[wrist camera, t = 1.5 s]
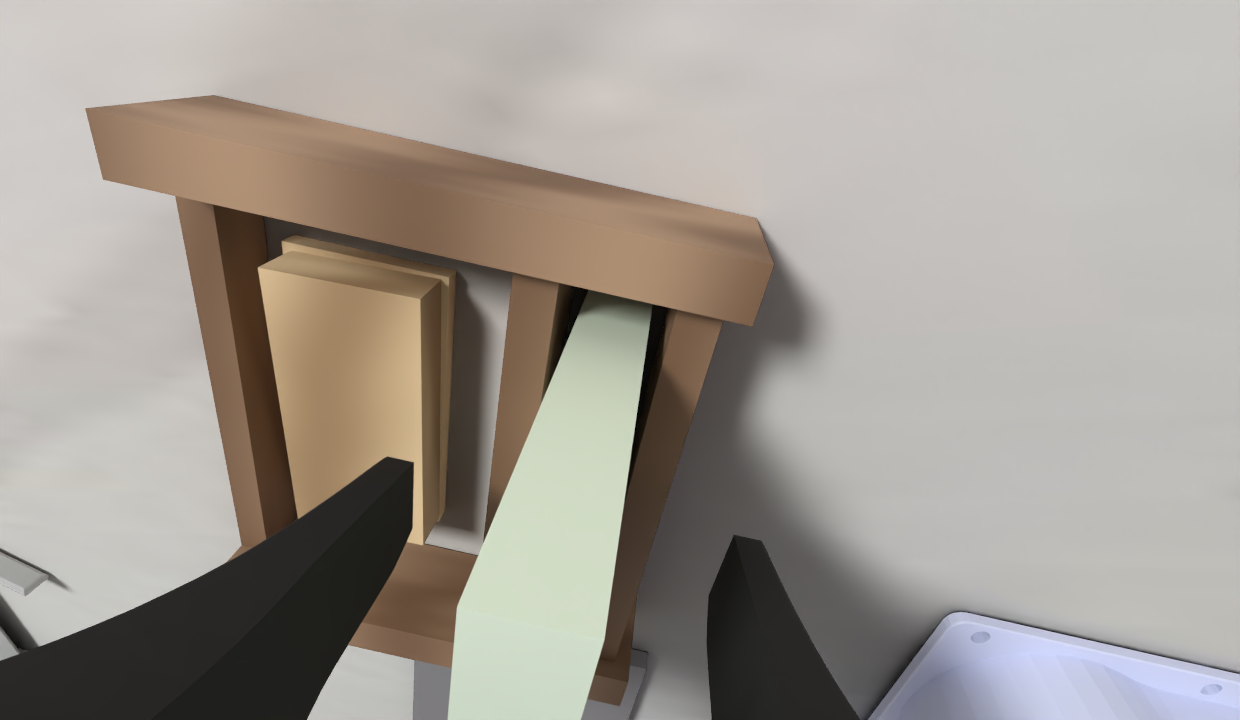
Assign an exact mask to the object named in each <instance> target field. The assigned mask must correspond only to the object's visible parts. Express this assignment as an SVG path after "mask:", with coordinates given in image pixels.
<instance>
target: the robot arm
mask: <svg viewBox="0 0 1240 720" xmlns="http://www.w3.org/2000/svg"><path fill="white" fill-rule="evenodd" d="M413 488H414V462H410V461H406V460H401V459H397V458H392V457H388V456H387V457H385V458H383V459H382V460H380V461H379V462H378V463H376V464H375V465H373V466H372V467H371V468H369V469H368V470H367V471H365V472H364V473H363V474H361V475H360V476H359V477H357V478H356V479H354V480H353V481H352V482H350V483H349V484H348V485H346V486H345V487H343V488H342V489H341V490H339V491H338V492H336V493H335V494H334V495H332V496H331V497H329V498H328V499H326V500H325V501H324V502H322V503H321V504H319V505H318V506H316V507H315V508H313V509H312V510H310V511H309V512H308V513H306V514H305V515H303V516H302V517H300V518H299V519H297V520H296V521H294V522H293V523H291V524H290V525H288V526H286V527H285V528H283V529H282V530H280V531H278V532H277V533H275V534H274V535H272V536H270V537H269V538H267V539H266V540H264V541H262V542H261V543H259V544H258V545H256V546H254V547H253V548H251V549H249V550H247V551H246V552H244V553H242V554H241V555H239V556H237V557H235V558H234V559H232V560H230V561H228V562H227V563H225V564H223V565H221V566H219V567H217V568H215V569H214V570H212V571H210V572H208V573H206V574H204V575H202V576H200V577H199V578H197V579H195V580H193V581H191V582H189V583H187V584H184V585H182V586H180V587H178V588H176V589H174V590H172V591H170V592H168V593H166V594H164V595H162V596H160V597H157V598H155V599H153V600H151V601H149V602H147V603H145V604H143V605H140V606H138V607H136V608H134V609H132V610H129V611H127V612H125V613H123V614H120V615H118V616H115V617H113V618H111V619H108V620H106V621H104V622H101V623H99V624H96V625H94V626H92V627H89V628H87V629H84V630H82V631H79V632H76V633H74V634H71V635H69V636H66V637H64V638H61V639H59V640H56V641H54V642H51V643H48V644H46V645H43V646H40V647H38V648H35V649H32V650H29V651H26V652H23V653H21V654H18V655H15V656H12V657H9V658H6V659H3V660H1V661H0V720H307V718H308V716H309V714H310V712H311V710H312V708H313V706H314V704H315V702H316V700H317V698H318V696H319V694H320V692H321V690H322V688H323V686H324V684H325V683H326V681H327V679H328V677H329V676H330V674H331V672H332V670H333V669H334V667H335V665H336V663H337V662H338V660H339V659H340V657H341V655H342V654H343V652H344V650H345V649H346V647H347V646H348V644H349V642H350V641H351V639H352V637H353V636H354V634H355V633H356V631H357V629H358V628H359V626H360V624H361V623H362V621H363V620H364V618H365V616H366V615H367V613H368V611H369V610H370V608H371V607H372V605H373V603H374V602H375V600H376V598H377V597H378V595H379V593H380V592H381V590H382V589H383V587H384V585H385V584H386V582H387V580H388V579H389V577H390V575H391V574H392V572H393V570H394V568H395V566H396V564H397V562H398V559H399V557H400V555H401V553H402V551H403V549H404V547H405V544H406V542H407V540H408V538H409V535H410V533H411V531H412V529H413ZM707 656H708V671H709V686H710V700H711V713H712V720H860V719H859V717H858V716H857V714H856V713H855V711H854V710H853V708H852V707H851V705H850V704H849V702H848V701H847V699H846V698H845V696H844V695H843V693H842V691H841V690H840V688H839V687H838V685H837V683H836V682H835V680H834V679H833V677H832V675H831V674H830V672H829V670H828V669H827V667H826V665H825V663H824V662H823V660H822V658H821V657H820V655H819V653H818V651H817V650H816V648H815V646H814V644H813V643H812V641H811V639H810V637H809V635H808V633H807V632H806V630H805V628H804V626H803V624H802V622H801V620H800V618H799V617H798V615H797V613H796V611H795V609H794V607H793V605H792V603H791V601H790V599H789V597H788V595H787V593H786V591H785V589H784V587H783V585H782V583H781V581H780V579H779V577H778V574H777V572H776V570H775V568H774V566H773V564H772V562H771V560H770V557H769V555H768V553H767V551H766V549H765V547H764V545H763V543H762V542H761V541H759V540H755V539H750V538H746V537H741V536H737V535H734V536H733V538H732V541H731V543H730V546H729V548H728V550H727V553H726V555H725V558H724V560H723V562H722V565H721V567H720V570H719V572H718V574H717V577H716V579H715V582H714V584H713V586H712V589H711V591H710V594H709V600H708V619H707ZM868 720H1240V674H1236V673H1232V672H1227V671H1223V670H1218V669H1214V668H1209V667H1205V666H1201V665H1196V664H1192V663H1187V662H1183V661H1178V660H1174V659H1170V658H1165V657H1161V656H1156V655H1152V654H1148V653H1143V652H1139V651H1134V650H1130V649H1125V648H1121V647H1117V646H1112V645H1108V644H1103V643H1099V642H1095V641H1090V640H1086V639H1081V638H1077V637H1072V636H1068V635H1064V634H1059V633H1055V632H1050V631H1046V630H1041V629H1037V628H1033V627H1028V626H1024V625H1019V624H1015V623H1011V622H1006V621H1002V620H997V619H993V618H988V617H984V616H980V615H975V614H971V613H966V612H955V613H952V614H949V615H947V616H946V617H945V618H944V619H943V620H942V621H941V623H940V624H939V625H938V627H937V628H936V629H935V631H934V632H933V633H932V635H931V636H930V637H929V639H928V640H927V641H926V643H925V644H924V645H923V647H922V648H921V649H920V651H919V652H918V653H917V655H916V656H915V657H914V659H913V660H912V661H911V663H910V664H909V665H908V667H907V668H906V669H905V671H904V672H903V673H902V675H901V676H900V677H899V679H898V680H897V681H896V683H895V684H894V685H893V687H892V688H891V689H890V691H889V692H888V693H887V695H886V696H885V697H884V699H883V700H882V701H881V703H880V704H879V705H878V707H877V708H876V709H875V711H874V712H873V713H872V715H871V716H870V717H869V719H868Z"/></svg>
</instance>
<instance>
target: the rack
mask: <svg viewBox="0 0 1240 720" xmlns="http://www.w3.org/2000/svg"><path fill="white" fill-rule="evenodd" d="M85 109H86V113H87V117H88V121H89V125H90V129H91V133H92V137H93V141H94V145H95V149H96V153H97V157H98V161H99V165H100V169H101V173H102V177H103V180H108V181H112V182H117V183H121V184H125V185H130V186H134V187H139V188H143V189H148V190H152V191H156V192H161V193H165V194H170V195H174V196H175V197H176V202H177V207H178V212H179V218H180V223H181V228H182V233H183V239H184V244H185V249H186V254H187V260H188V265H189V270H190V275H191V281H192V286H193V291H194V296H195V302H196V307H197V312H198V317H199V323H200V328H201V333H202V338H203V344H204V349H205V354H206V359H207V365H208V370H209V375H210V380H211V386H212V391H213V396H214V401H215V407H216V412H217V417H218V422H219V428H220V433H221V438H222V443H223V449H224V454H225V459H226V464H227V470H228V475H229V480H230V485H231V491H232V496H233V501H234V506H235V512H236V517H237V522H238V527H239V533H240V538H241V543H242V546H241V547H240V548H239V549H238V550H237V551H236V553H235V554H234V555H233V556H232V557H231V558H230V559H229V560H228V561H230V560H232V559H234V558H235V557H237V556H239V555H241V554H242V553H244V552H246V551H247V550H249V549H251V548H253V547H254V546H256V545H258V544H259V543H261V542H262V541H264V540H266V539H267V538H269V537H270V536H272V535H274V534H275V533H277V532H278V531H280V530H282V529H283V528H285V527H286V526H288V525H290V524H291V523H293V522H294V521H296V520H297V519H298V516H297V510H296V503H295V497H294V491H293V485H292V478H291V472H290V466H289V460H288V453H287V447H286V441H285V435H284V428H283V422H282V416H281V410H280V403H279V397H278V391H277V385H276V378H275V372H274V366H273V360H272V354H271V347H270V341H269V335H268V329H267V322H266V316H265V310H264V304H263V297H262V291H261V285H260V279H259V272H258V267H260V266H262V265H264V264H265V263H267V262H268V253H267V245H266V236H265V227H264V219H263V216H267V217H271V218H275V219H280V220H284V221H289V222H293V223H298V224H302V225H306V226H311V227H315V228H320V229H324V230H328V231H333V232H337V233H342V234H346V235H350V236H355V237H359V238H364V239H368V240H373V241H377V242H381V243H386V244H390V245H395V246H399V247H403V248H408V249H412V250H417V251H421V252H425V253H430V254H434V255H439V256H443V257H447V258H452V259H456V260H461V261H465V262H470V263H474V264H478V265H483V266H487V267H492V268H496V269H500V270H505V271H509V272H513V275H512V284H511V294H510V303H509V312H508V321H507V330H506V339H505V349H504V358H503V367H502V376H501V385H500V394H499V403H498V413H497V422H496V431H495V440H494V449H493V458H492V468H491V477H490V486H489V495H488V504H487V513H486V522H485V532H484V541H485V538H486V536H487V533H488V531H489V529H490V526H491V524H492V521H493V519H494V517H495V514H496V512H497V509H498V507H499V505H500V502H501V500H502V497H503V495H504V492H505V490H506V488H507V485H508V483H509V480H510V478H511V476H512V473H513V471H514V468H515V466H516V464H517V461H518V459H519V456H520V454H521V452H522V449H523V447H524V444H525V442H526V440H527V437H528V435H529V432H530V430H531V427H532V425H533V423H534V420H535V418H536V415H537V413H538V411H539V408H540V406H541V403H542V401H543V399H544V396H545V394H546V391H547V389H548V387H549V384H550V382H551V379H552V377H553V375H554V372H555V370H556V367H557V365H558V362H559V360H560V358H561V355H562V353H563V348H564V342H565V336H566V330H567V324H568V318H569V312H570V306H571V300H572V294H573V288H574V286H575V287H580V288H584V289H589V290H593V291H597V292H602V293H606V294H611V295H615V296H620V297H624V298H628V299H633V300H637V301H642V302H646V303H650V304H655V305H659V306H664V307H668V311H667V315H666V319H665V323H664V326H663V330H662V334H661V338H660V342H659V346H658V349H657V353H656V357H655V361H654V365H653V368H652V372H651V376H650V380H649V384H648V387H647V391H646V395H645V399H644V403H643V407H642V410H641V414H640V418H639V422H638V426H637V429H636V433H635V437H634V441H633V445H632V451H631V458H630V465H629V472H628V479H627V486H626V493H625V500H624V507H623V514H622V521H621V528H620V535H619V542H618V549H617V556H616V563H615V570H614V576H613V583H612V590H611V597H610V604H609V611H608V618H607V625H606V632H605V639H604V643H603V646H602V650H601V653H600V657H599V660H598V663H597V667H596V670H595V674H594V677H593V680H592V684H591V687H590V690H589V694H588V697H587V699H589V700H594V701H598V702H603V703H607V704H612V705H616V706H620V705H621V702H622V699H623V696H624V693H625V690H626V687H627V685H628V680H629V670H630V660H631V649H632V639H633V629H634V619H635V609H636V598H637V590H638V587H639V583H640V580H641V577H642V574H643V571H644V568H645V565H646V562H647V558H648V555H649V552H650V549H651V546H652V543H653V540H654V536H655V533H656V530H657V527H658V524H659V521H660V518H661V514H662V511H663V508H664V505H665V502H666V499H667V496H668V493H669V489H670V486H671V483H672V480H673V477H674V474H675V471H676V467H677V464H678V461H679V458H680V455H681V452H682V449H683V445H684V442H685V439H686V436H687V433H688V430H689V427H690V424H691V420H692V417H693V414H694V411H695V408H696V405H697V402H698V398H699V395H700V392H701V389H702V386H703V383H704V380H705V376H706V373H707V370H708V367H709V364H710V361H711V358H712V355H713V351H714V348H715V345H716V342H717V339H718V336H719V333H720V329H721V326H722V323H723V320H725V321H730V322H734V323H739V324H743V325H747V326H752V327H753V324H754V321H755V318H756V315H757V313H758V310H759V307H760V304H761V301H762V298H763V295H764V293H765V290H766V287H767V284H768V281H769V278H770V275H771V272H772V270H773V267H774V263H773V260H772V258H771V255H770V252H769V250H768V247H767V245H766V242H765V239H764V237H763V234H762V232H761V229H760V226H759V224H758V221H757V218H753V217H748V216H744V215H739V214H735V213H731V212H726V211H722V210H717V209H713V208H708V207H704V206H700V205H695V204H691V203H686V202H682V201H678V200H673V199H669V198H664V197H660V196H656V195H651V194H647V193H642V192H638V191H634V190H629V189H625V188H620V187H616V186H612V185H607V184H603V183H598V182H594V181H589V180H585V179H581V178H576V177H572V176H567V175H563V174H559V173H554V172H550V171H545V170H541V169H537V168H532V167H528V166H523V165H519V164H515V163H510V162H506V161H501V160H497V159H493V158H488V157H484V156H479V155H475V154H470V153H466V152H462V151H457V150H453V149H448V148H444V147H440V146H435V145H431V144H426V143H422V142H418V141H413V140H409V139H404V138H400V137H396V136H391V135H387V134H382V133H378V132H374V131H369V130H365V129H360V128H356V127H351V126H347V125H343V124H338V123H334V122H329V121H325V120H321V119H316V118H312V117H307V116H303V115H299V114H294V113H290V112H285V111H281V110H277V109H272V108H268V107H263V106H259V105H255V104H250V103H246V102H241V101H237V100H233V99H228V98H224V97H219V96H215V95H212V96H202V97H192V98H182V99H173V100H163V101H153V102H143V103H134V104H124V105H114V106H104V107H95V108H85ZM484 541H483V543H484ZM477 557H478V556H475V555H471V554H467V553H462V552H458V551H453V550H449V549H444V548H440V547H436V546H431V545H427V544H424V545H419V544H414V543H409V542H406V544H405V547H404V549H403V551H402V553H401V555H400V557H399V559H398V562H397V564H396V566H395V568H394V570H393V572H392V574H391V575H390V577H389V579H388V580H387V582H386V584H385V585H384V587H383V589H382V590H381V592H380V593H379V595H378V597H377V598H376V600H375V602H374V603H373V605H372V607H371V608H370V610H369V611H368V613H367V615H366V616H365V618H364V620H363V621H362V623H361V624H360V626H359V628H358V629H357V631H356V633H355V634H354V636H353V637H352V639H351V641H350V642H349V644H348V645H351V646H355V647H359V648H364V649H368V650H373V651H377V652H381V653H386V654H390V655H395V656H399V657H404V658H408V659H412V660H417V661H421V662H426V663H430V664H435V665H439V666H443V667H448V668H452V660H453V648H454V636H455V624H456V612H457V606H458V603H459V601H460V598H461V596H462V594H463V591H464V589H465V586H466V584H467V582H468V579H469V577H470V574H471V572H472V570H473V567H474V565H475V562H476V560H477ZM228 561H227V562H228Z"/></svg>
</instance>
